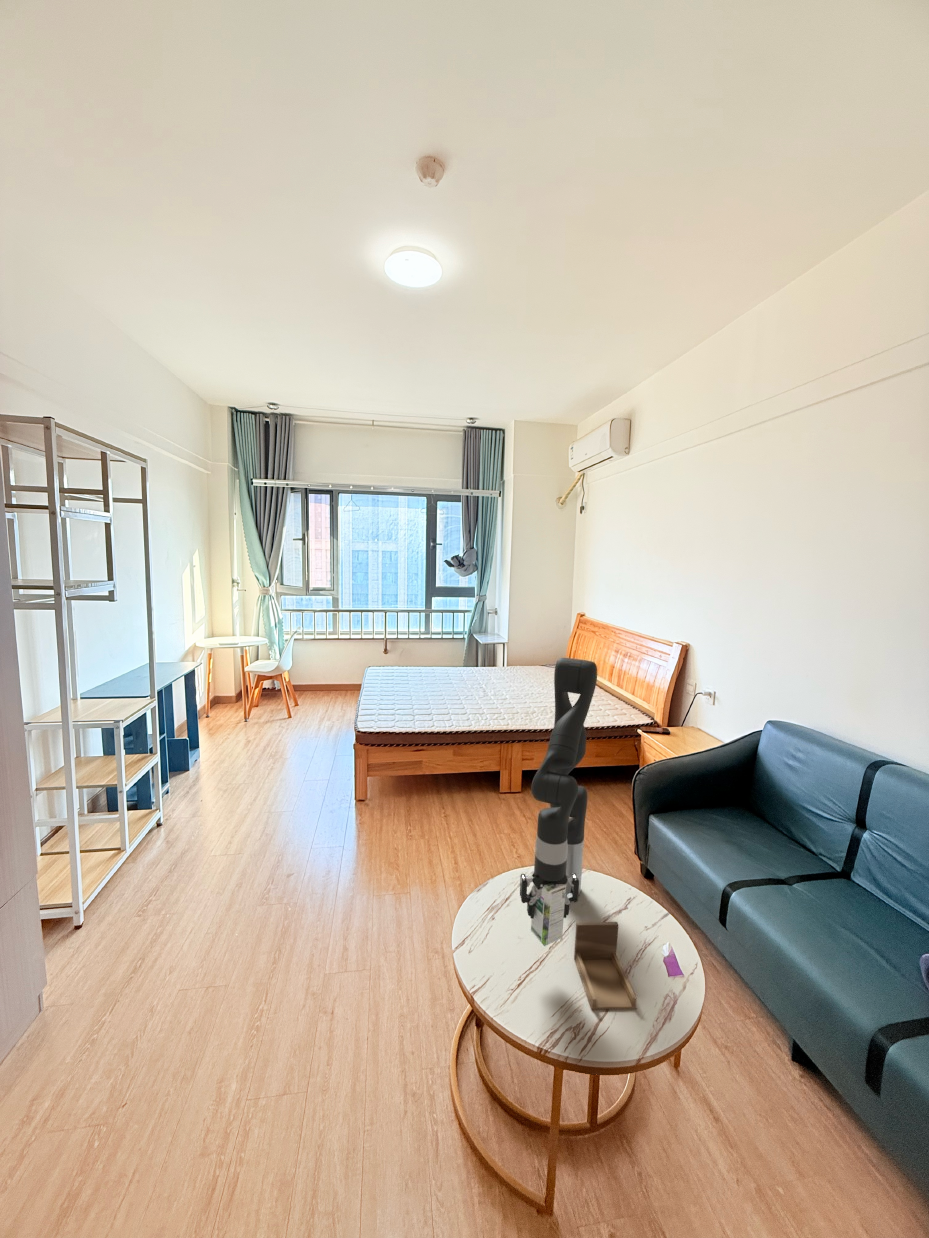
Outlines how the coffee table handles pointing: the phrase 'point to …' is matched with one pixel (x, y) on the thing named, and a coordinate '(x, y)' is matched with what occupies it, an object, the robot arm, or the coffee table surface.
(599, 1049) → the coffee table surface
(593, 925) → the book rack
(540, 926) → the syrup box
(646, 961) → the coffee table surface
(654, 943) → the coffee table surface
